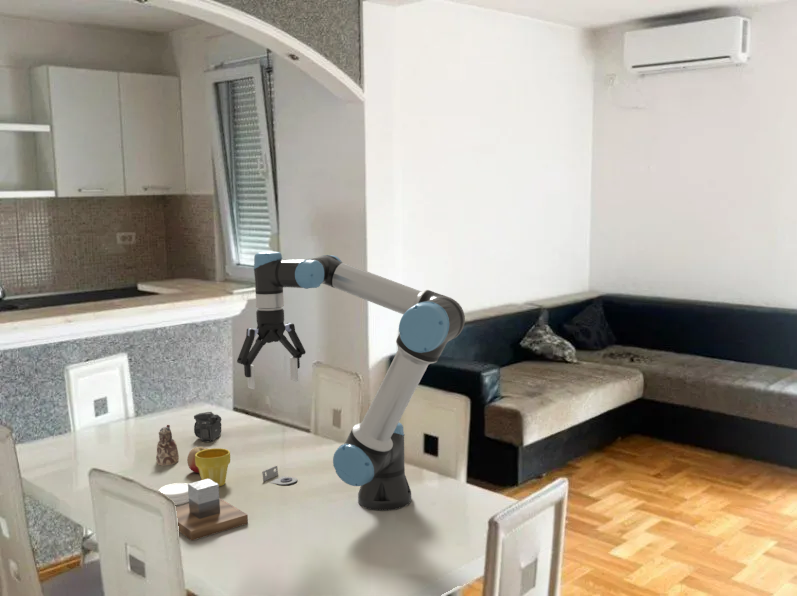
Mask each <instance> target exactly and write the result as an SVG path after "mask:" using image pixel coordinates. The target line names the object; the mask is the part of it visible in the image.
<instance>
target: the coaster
mask: <svg viewBox="0 0 797 596" xmlns="http://www.w3.org/2000/svg"><path fill="white" fill-rule="evenodd" d="M188 484H189V483H185V482H175V483H169V484H168V483H167V484H166V485H163V486H161V487H160V488H159V489H158V490H157V492H158V491H160V492H161V493H163V494H165V495H166V496H168V497H169V498H171V499H172V500H173V501H174V502H175V504H177V505H176V506H182V505H186V504H189V495H188Z"/></svg>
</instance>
